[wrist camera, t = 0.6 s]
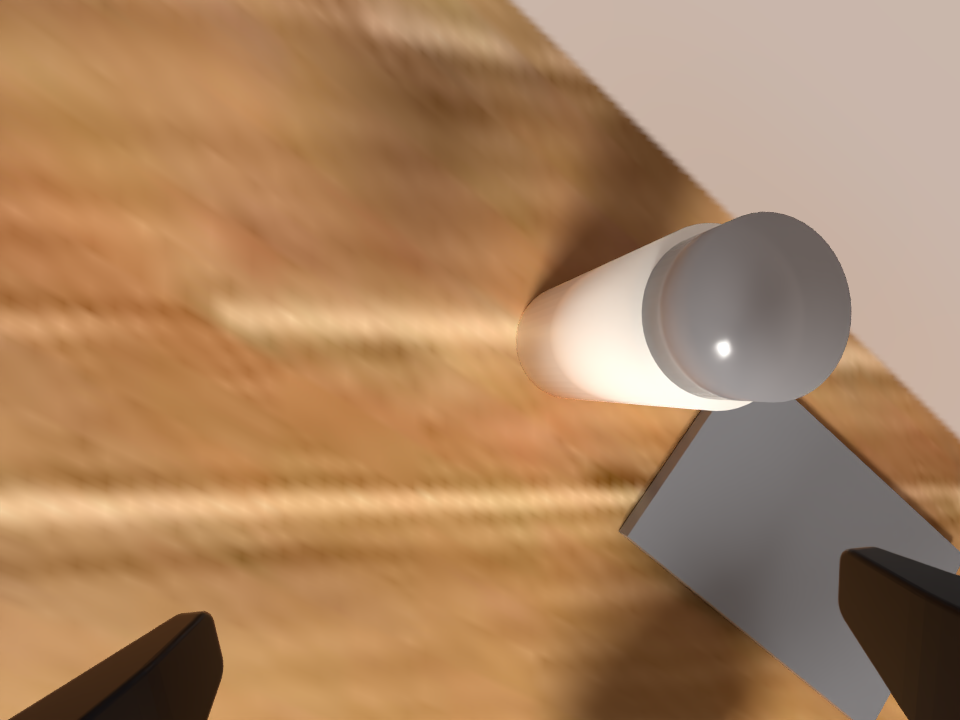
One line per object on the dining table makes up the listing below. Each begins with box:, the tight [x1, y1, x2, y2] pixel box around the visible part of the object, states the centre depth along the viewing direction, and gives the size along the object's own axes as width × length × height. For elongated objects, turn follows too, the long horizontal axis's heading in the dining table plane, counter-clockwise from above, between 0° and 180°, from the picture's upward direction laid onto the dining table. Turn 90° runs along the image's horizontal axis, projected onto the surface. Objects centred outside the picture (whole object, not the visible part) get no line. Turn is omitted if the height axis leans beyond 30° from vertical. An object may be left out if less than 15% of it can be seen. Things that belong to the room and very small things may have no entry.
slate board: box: [619, 399, 960, 720], centre depth 26 cm, size 16×10×1 cm, turn 51°
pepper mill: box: [516, 212, 851, 411], centre depth 19 cm, size 5×5×12 cm
